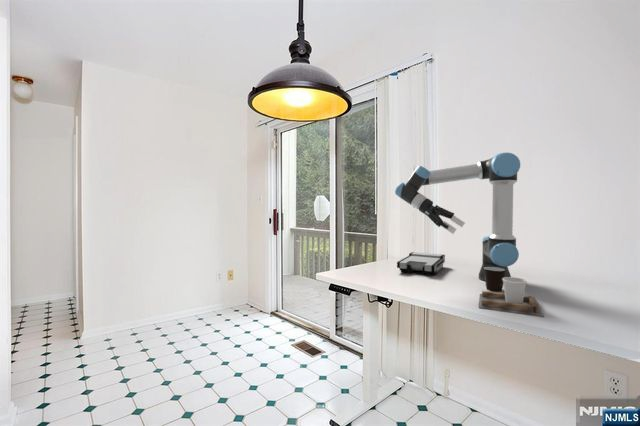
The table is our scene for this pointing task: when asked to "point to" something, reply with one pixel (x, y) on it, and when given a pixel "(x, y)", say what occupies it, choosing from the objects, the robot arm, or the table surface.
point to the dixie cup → (514, 289)
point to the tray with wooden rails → (509, 304)
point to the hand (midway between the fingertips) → (459, 228)
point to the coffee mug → (494, 278)
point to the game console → (422, 263)
